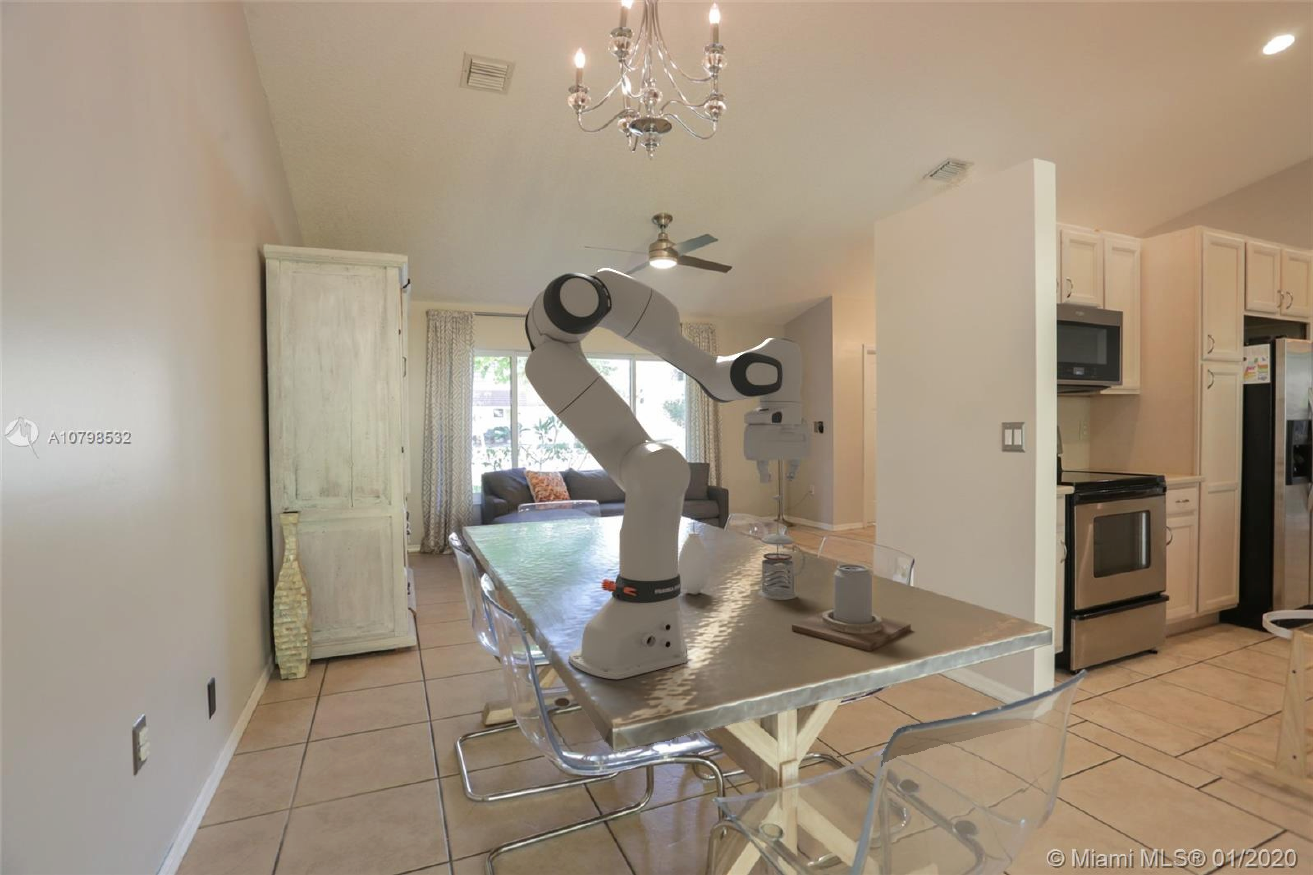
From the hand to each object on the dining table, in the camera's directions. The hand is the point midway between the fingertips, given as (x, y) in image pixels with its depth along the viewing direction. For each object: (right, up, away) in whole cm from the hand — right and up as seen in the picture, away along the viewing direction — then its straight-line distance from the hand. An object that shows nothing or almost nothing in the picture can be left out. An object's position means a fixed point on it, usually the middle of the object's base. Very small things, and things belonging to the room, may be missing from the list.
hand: (778, 481), depth 132 cm
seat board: (+15, -30, -3) cm, 34 cm away
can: (+15, -29, -3) cm, 33 cm away
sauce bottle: (-16, -30, +25) cm, 43 cm away
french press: (+5, -30, +25) cm, 39 cm away
